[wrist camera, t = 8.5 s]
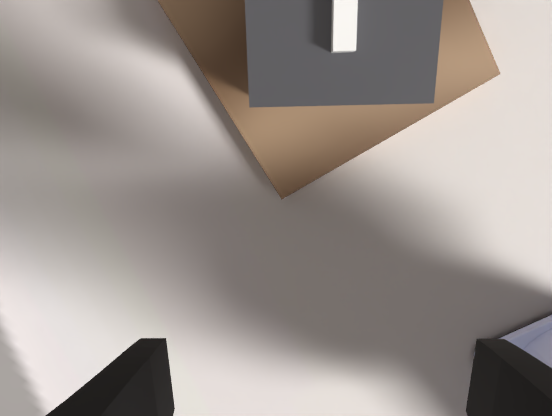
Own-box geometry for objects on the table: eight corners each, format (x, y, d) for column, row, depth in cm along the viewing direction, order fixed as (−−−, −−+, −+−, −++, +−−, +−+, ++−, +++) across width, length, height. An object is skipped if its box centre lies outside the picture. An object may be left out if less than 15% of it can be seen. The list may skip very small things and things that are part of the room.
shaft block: (488, 74, 16) (558, 70, 12) (282, 193, 18) (279, 226, 14) (378, -180, 14) (417, -296, 10) (153, -14, 16) (103, -51, 12)
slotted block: (390, 97, 16) (440, 104, 11) (261, 100, 16) (247, 108, 11) (399, -51, 14) (463, -131, 9) (256, -46, 14) (237, -121, 9)
